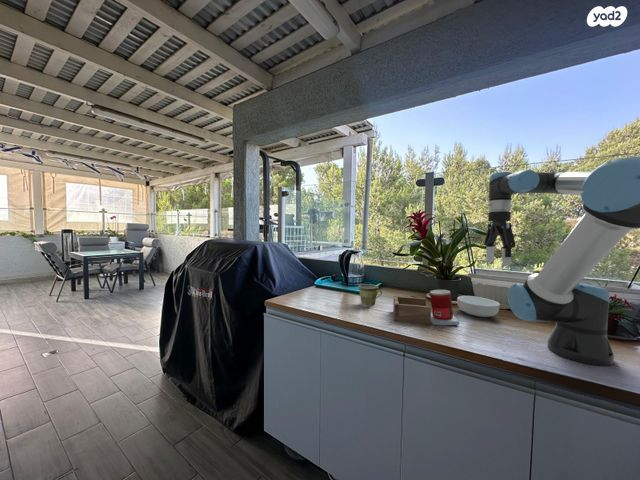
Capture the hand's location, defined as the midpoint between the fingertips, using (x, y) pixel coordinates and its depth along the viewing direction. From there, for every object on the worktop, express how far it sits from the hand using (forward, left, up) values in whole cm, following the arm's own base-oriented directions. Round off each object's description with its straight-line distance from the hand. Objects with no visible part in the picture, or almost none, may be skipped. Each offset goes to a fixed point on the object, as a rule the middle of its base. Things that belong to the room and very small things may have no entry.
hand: (497, 263), depth 105 cm
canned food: (-1, +20, -24) cm, 31 cm away
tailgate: (-1, +20, -25) cm, 32 cm away
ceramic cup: (+14, +51, -26) cm, 59 cm away
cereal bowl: (+14, +2, -26) cm, 30 cm away
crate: (-1, +33, -26) cm, 42 cm away
